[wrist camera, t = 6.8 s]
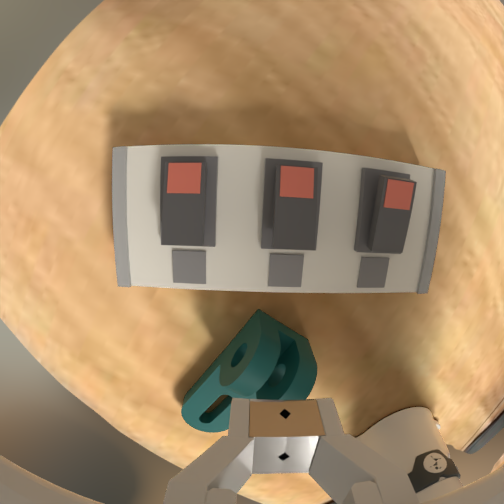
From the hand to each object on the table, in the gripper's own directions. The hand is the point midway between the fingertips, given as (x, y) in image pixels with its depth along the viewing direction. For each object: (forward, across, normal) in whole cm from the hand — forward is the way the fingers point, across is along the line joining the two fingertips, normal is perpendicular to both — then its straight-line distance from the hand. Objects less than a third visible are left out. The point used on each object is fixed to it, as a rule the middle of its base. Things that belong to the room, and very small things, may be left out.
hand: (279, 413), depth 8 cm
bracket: (+22, +2, +15) cm, 27 cm away
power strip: (+21, -2, -4) cm, 21 cm away
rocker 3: (+15, -10, -5) cm, 19 cm away
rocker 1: (+14, +6, -5) cm, 16 cm away
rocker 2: (+15, -2, -5) cm, 16 cm away
